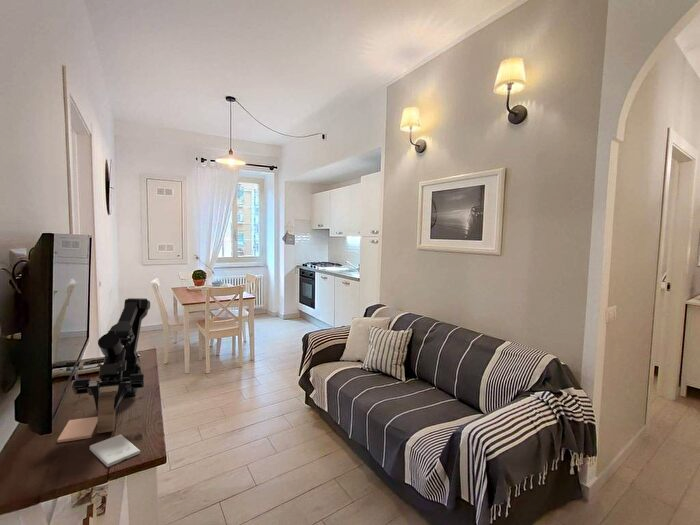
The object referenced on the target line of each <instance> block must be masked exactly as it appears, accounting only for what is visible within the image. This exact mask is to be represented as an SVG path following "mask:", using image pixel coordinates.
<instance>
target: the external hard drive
mask: <svg viewBox="0 0 700 525" xmlns="http://www.w3.org/2000/svg"><path fill="white" fill-rule="evenodd" d="M89 451H91V452H92V454H94V455H95V457H97V458H98V460H100V461H101V462H102V464H104V466H106V468H109V467H112V466H115V465H116V464H118V463H121V462H122V461H124V460H128V459H130V458H132V457H134V456H137V455H140V454H141V450H140V449H139V448H138V447H136V446H135V445H134V444H133V443H132V442H131V441H130V440H129V439H127V438H126V437H124V436H123V435H122V434H118V435H115V436H113V437H109V438H106V439H105V440H101V441H99V442H96V443H92V444H91V445H89Z"/></svg>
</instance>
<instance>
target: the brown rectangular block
mask: <svg viewBox="0 0 700 525" xmlns="http://www.w3.org/2000/svg"><path fill="white" fill-rule="evenodd" d="M100 393H101V394H100V396H99V398H98V412H97V417H98V421H97V425H96V427H97V428H96V434H102V433H107V432H108V433H110V432H114V429H115V427H116V426H115V425H116V410H117V409H116V410H114V403H115V399H116V394H117V391H116V390H115V391H114V390H113V391H105V392H100Z"/></svg>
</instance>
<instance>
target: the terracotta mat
mask: <svg viewBox="0 0 700 525" xmlns="http://www.w3.org/2000/svg"><path fill="white" fill-rule="evenodd" d="M97 421H98V416H92V417H84V418H76V419H69V420H68V422H67V424H65V426H64V428H63V430H62V432H61V433H60V435H59V436H58V438H57V440H56V442H57V444H58V443H65V442H70V441H71V442H72V441H77V440H78V441H79V440H84V439H90V438H92V436H93V434H94V432H95V429H96V427H97Z"/></svg>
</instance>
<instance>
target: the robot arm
mask: <svg viewBox="0 0 700 525" xmlns="http://www.w3.org/2000/svg"><path fill="white" fill-rule="evenodd" d="M123 305H124V306H123V309H122V312H121V314H120V316H119V319H118V320H117V323H116V324H113V325H112V326H111V327H110V329H109V330H108V331H107V333H105V334H103V335H101V337H100V338H98V340H97V345H98V347H99V349H100V351H101V353H102V356H104V358H103V359H104V360H103V364H99V372H98V379H99V380H91V379H90V377H86V378H77V379H74V381H73V382H72V387H71V388H72V391H73V393H74V395H85V394H88V395H89V396H93V400H94V404H95V410H96V412H97V413H98V398H99V396H100V394H101V393H102V392H101V390H100V389H101V388H106V387H107V388H108V387H115V386H117V391H116V399H115V403H114V410H117V408H118V406H119V405H120V403H121V401H122V400H123V398H130V397H136V395H137V391H138V389H140V388H141V389H142V388H144V387H145V380H146V378H145V375H144V373H143V372H142V368H141V365H140V361H139V359H138V357H137V349H138V343H139V337H140V332H141V331H140V330H141V325H142V321H143V319H145V318H146V317H147V315H148V312H149V310H150V309H151V301H150V300H148V298H142V297H141V298H135V297H134V298H133V297H131V298H130V297H129V298H126V299H124V304H123Z"/></svg>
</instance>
